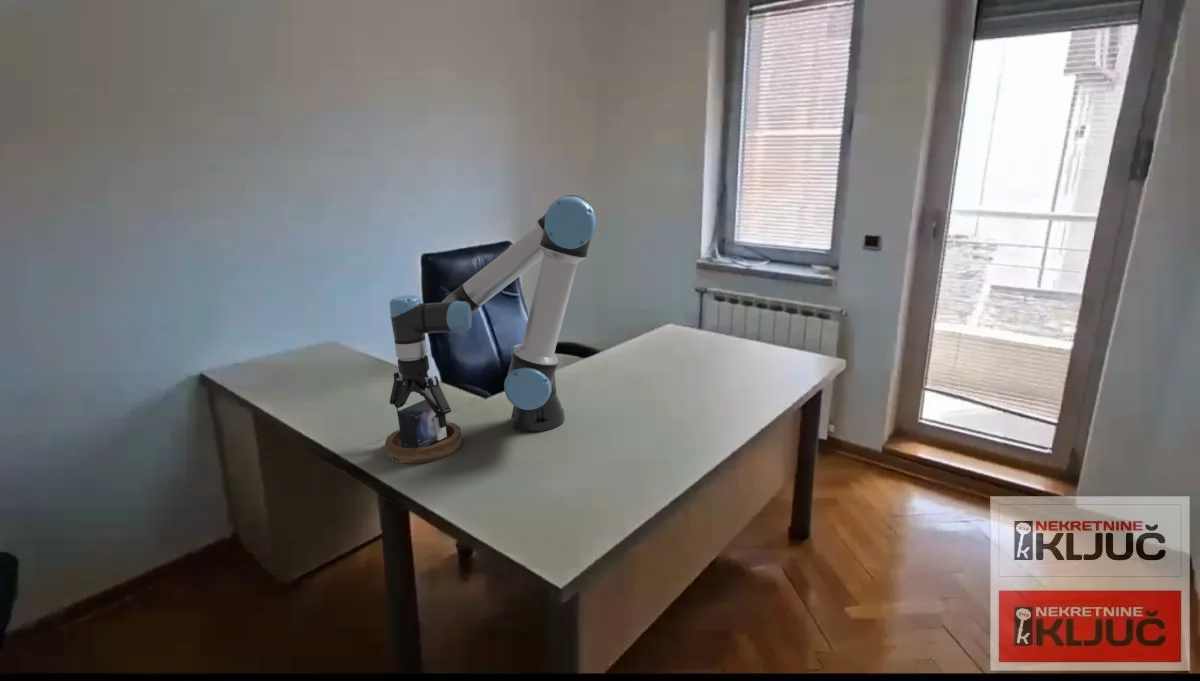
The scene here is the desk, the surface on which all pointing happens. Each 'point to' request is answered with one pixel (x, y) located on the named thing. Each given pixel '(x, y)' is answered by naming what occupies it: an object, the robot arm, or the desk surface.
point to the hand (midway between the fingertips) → (423, 434)
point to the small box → (417, 426)
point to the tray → (424, 453)
